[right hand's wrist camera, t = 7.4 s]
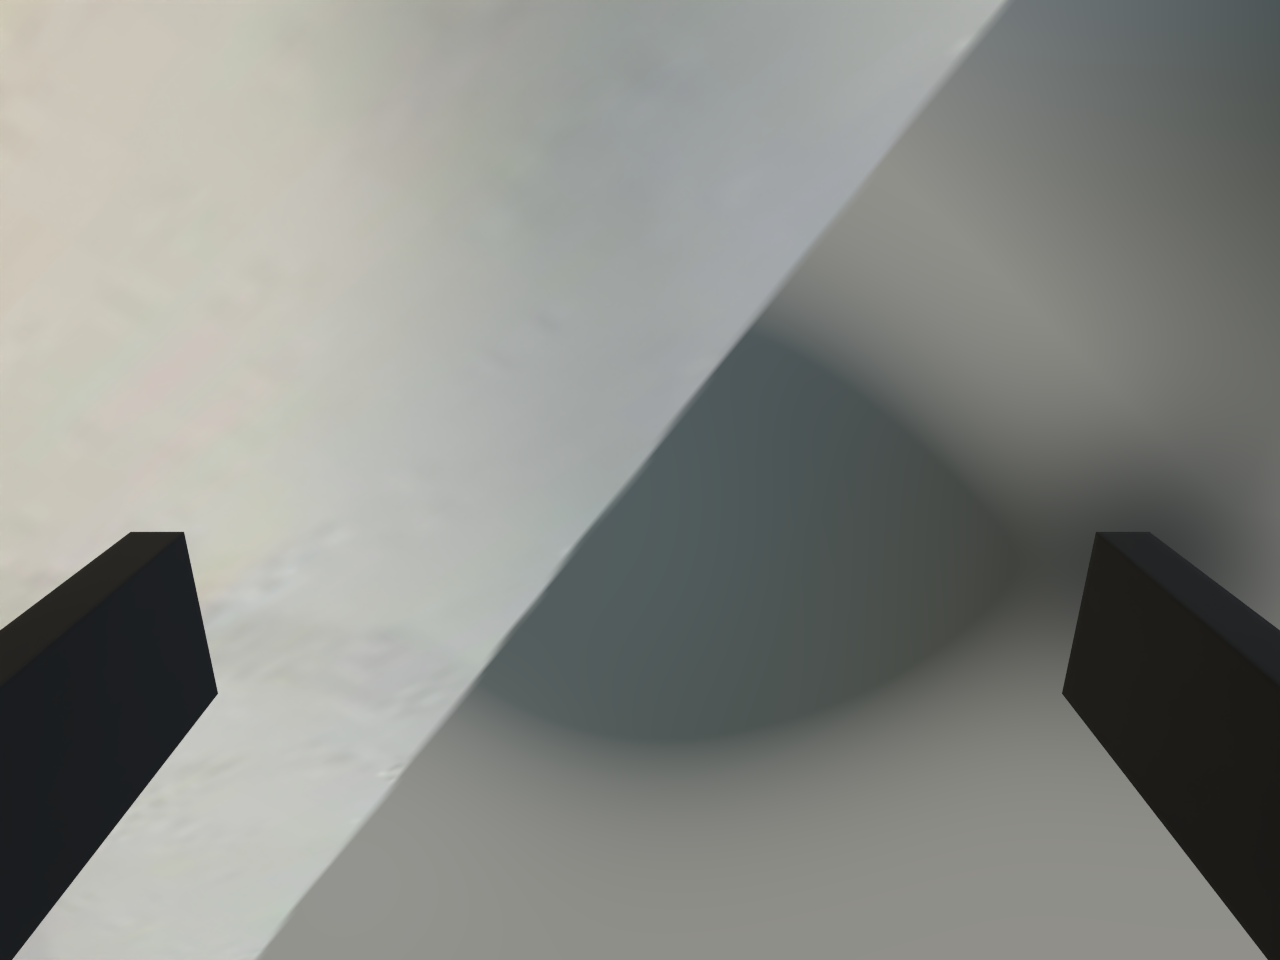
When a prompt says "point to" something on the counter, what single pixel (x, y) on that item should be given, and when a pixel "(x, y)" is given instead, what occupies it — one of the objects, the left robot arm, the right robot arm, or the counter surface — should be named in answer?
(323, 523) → the counter surface
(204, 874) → the counter surface
